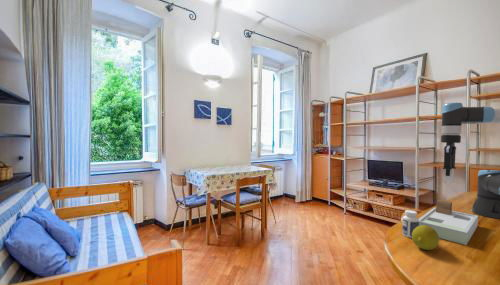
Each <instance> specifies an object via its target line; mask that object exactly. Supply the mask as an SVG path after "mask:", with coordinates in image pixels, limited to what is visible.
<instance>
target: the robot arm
mask: <svg viewBox="0 0 500 285" xmlns="http://www.w3.org/2000/svg"><path fill="white" fill-rule="evenodd" d="M441 110H442V111H441V127H440V128H439V130H441V134H442V135H440V142H441V143H445V146H444V148H443V150H444V151H443V152H444V153H443V154H444V156H443V167H442V169H443V170H444V175H443V176H444V178H443V182H444V183H448V184H452V183H454V178H455V177H454V176H455V175H454V173H455V170H456V168H457V167H456V154H457V153H456V152H457V146H456V145H455V144H460V143H461V141H462V135H461V134H462V126H463V124H464V125H468V124H469V125H472V124H473V125H474V124H476V125H477V124H488V125H489V124H490V125H491V124H492V125H493V124H498V125H499V124H500V108H494V107H492V106H485V105H484V106H463V103H462V102H447V103H444V104H443V105H442V109H441ZM476 191H477V193H476V198H475V201H474V203H473V204H472V207H471V212H472V213H474V214H475V215H478V216H483V217H487V218H493V219H497V220H498V219H500V170H498V169H497V170H495V169H491V170H490V169H480V170H478V174H477V188H476Z"/></svg>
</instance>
